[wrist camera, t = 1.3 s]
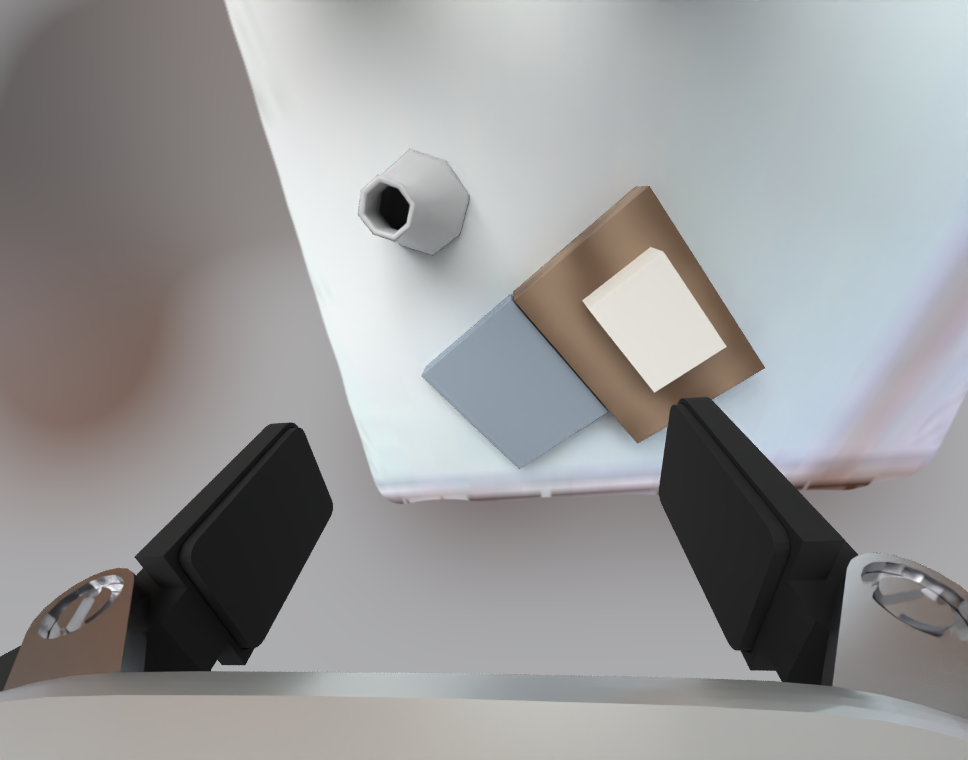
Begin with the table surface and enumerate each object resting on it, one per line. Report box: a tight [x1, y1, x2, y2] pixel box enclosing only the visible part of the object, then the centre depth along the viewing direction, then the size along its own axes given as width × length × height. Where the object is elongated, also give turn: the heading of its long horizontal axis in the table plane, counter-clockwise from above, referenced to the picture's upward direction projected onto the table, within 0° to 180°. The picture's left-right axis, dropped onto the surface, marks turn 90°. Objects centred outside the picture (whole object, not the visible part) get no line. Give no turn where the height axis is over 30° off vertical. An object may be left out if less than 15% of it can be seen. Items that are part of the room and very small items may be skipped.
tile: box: [582, 247, 727, 393], centre depth 28 cm, size 6×9×2 cm, turn 42°
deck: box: [514, 186, 765, 443], centre depth 31 cm, size 12×18×3 cm, turn 42°
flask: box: [358, 149, 470, 255], centre depth 25 cm, size 7×7×10 cm
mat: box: [422, 294, 608, 469], centre depth 35 cm, size 11×14×2 cm
